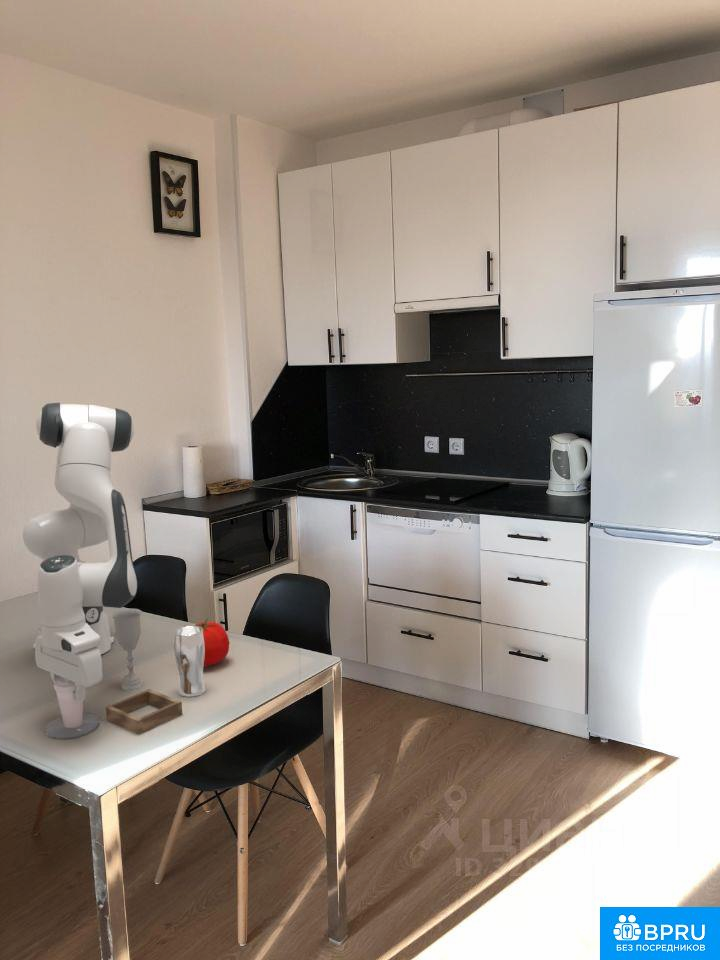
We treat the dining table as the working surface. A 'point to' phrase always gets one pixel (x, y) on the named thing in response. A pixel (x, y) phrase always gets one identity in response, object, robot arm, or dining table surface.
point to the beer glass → (190, 659)
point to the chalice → (128, 641)
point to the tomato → (214, 642)
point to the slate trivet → (61, 732)
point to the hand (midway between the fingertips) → (70, 695)
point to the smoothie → (69, 703)
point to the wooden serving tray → (140, 725)
